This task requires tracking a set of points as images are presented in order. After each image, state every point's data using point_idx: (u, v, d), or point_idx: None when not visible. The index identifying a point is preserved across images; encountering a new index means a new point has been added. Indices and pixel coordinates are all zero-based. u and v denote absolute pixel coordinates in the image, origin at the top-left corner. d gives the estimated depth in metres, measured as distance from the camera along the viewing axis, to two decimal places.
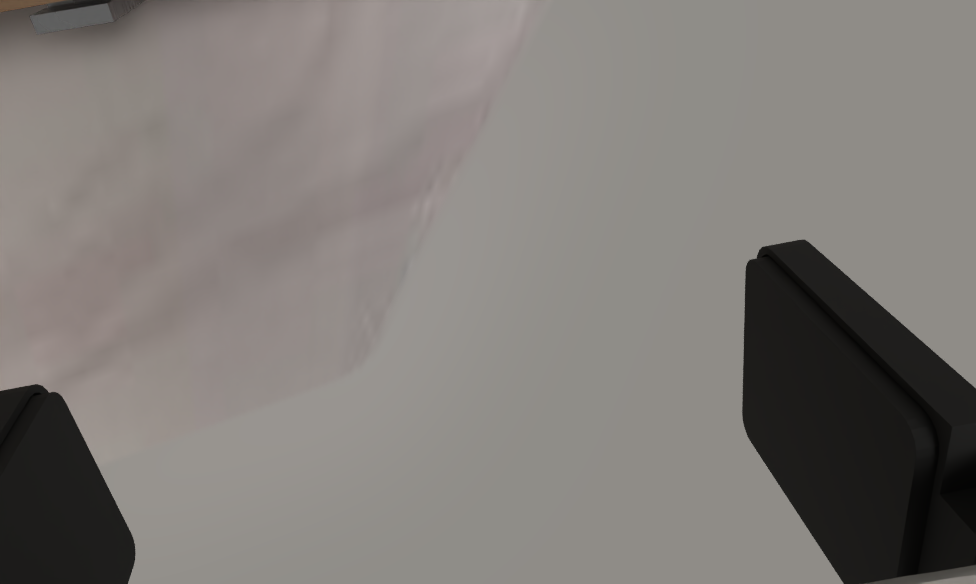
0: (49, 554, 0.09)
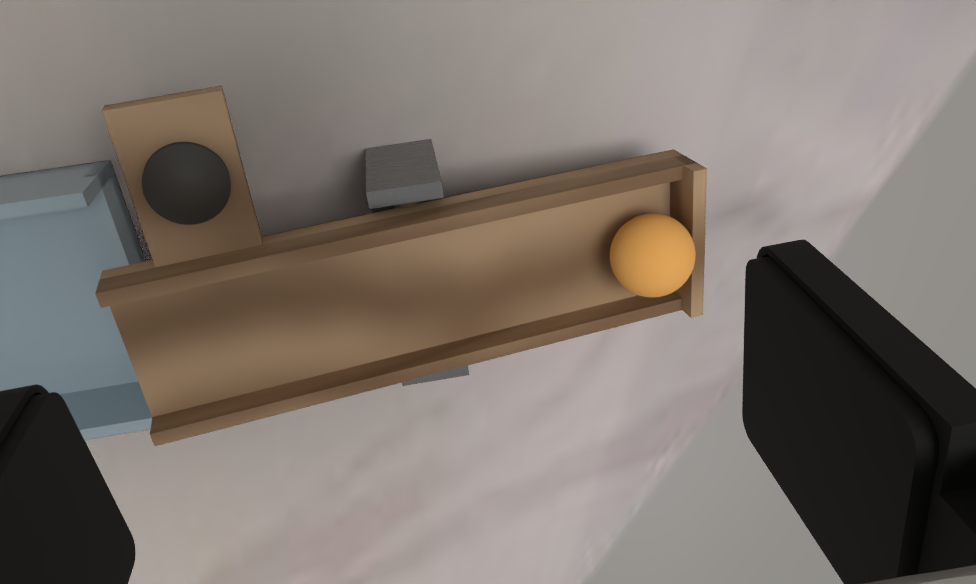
0: (49, 554, 0.09)
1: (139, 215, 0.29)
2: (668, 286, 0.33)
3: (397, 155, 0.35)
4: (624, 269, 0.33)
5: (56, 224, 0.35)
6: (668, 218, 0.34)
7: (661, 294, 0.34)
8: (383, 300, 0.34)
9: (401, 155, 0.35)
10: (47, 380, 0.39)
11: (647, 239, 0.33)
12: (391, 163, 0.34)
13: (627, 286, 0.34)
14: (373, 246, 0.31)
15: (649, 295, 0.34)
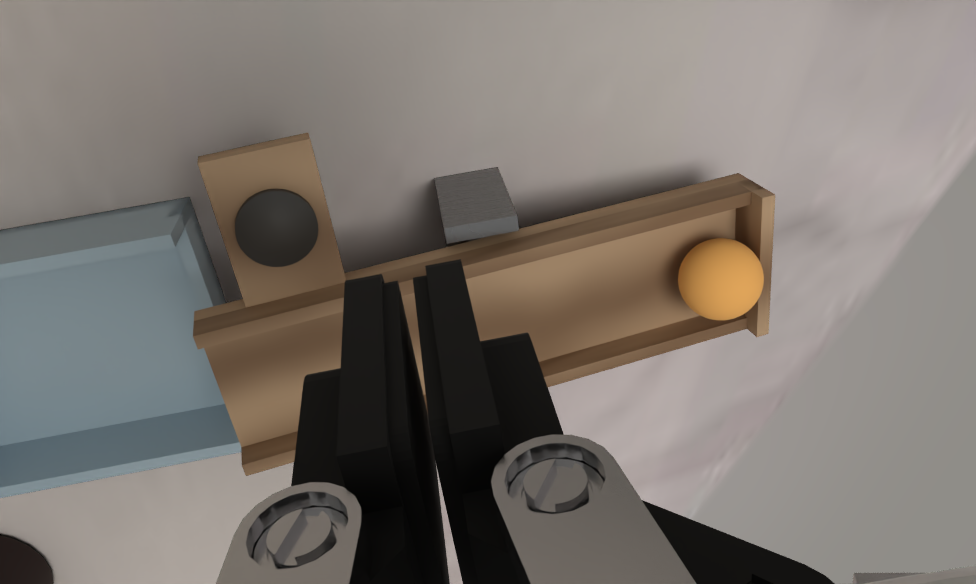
0: (419, 414, 0.10)
1: (231, 259, 0.30)
2: (738, 310, 0.34)
3: (467, 185, 0.36)
4: (695, 295, 0.34)
5: (138, 260, 0.37)
6: (737, 243, 0.34)
7: (730, 318, 0.34)
8: None
9: (471, 185, 0.36)
10: (129, 406, 0.40)
11: (717, 266, 0.33)
12: (463, 195, 0.35)
13: (697, 310, 0.35)
14: None
15: (718, 319, 0.35)
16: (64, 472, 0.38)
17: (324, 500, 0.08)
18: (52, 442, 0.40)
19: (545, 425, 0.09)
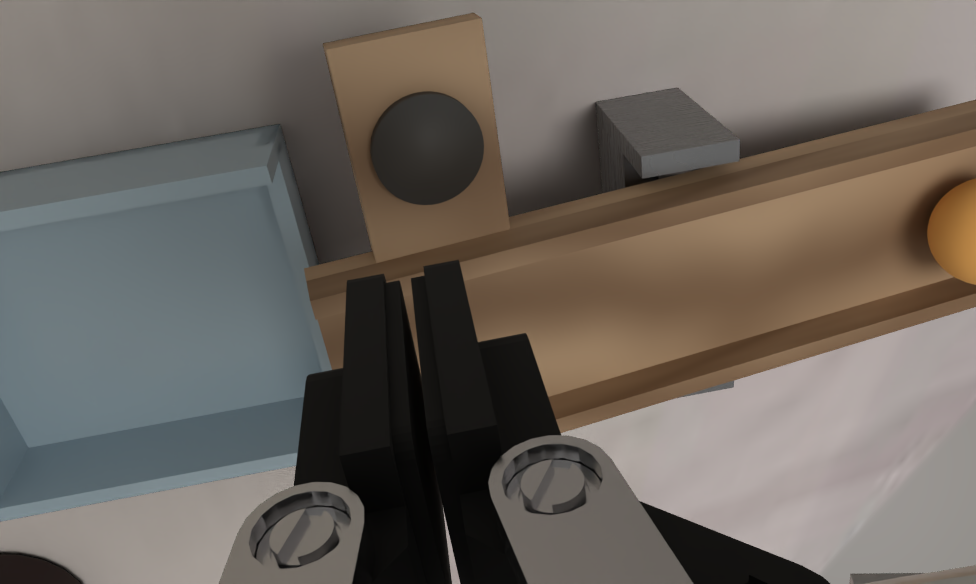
0: (421, 414, 0.10)
1: (362, 194, 0.22)
2: None
3: (647, 108, 0.27)
4: (965, 251, 0.25)
5: (212, 207, 0.28)
6: None
7: None
8: (645, 297, 0.26)
9: (653, 108, 0.27)
10: (193, 398, 0.32)
11: None
12: (647, 118, 0.26)
13: (961, 272, 0.26)
14: (657, 228, 0.23)
15: None
16: (114, 483, 0.29)
17: (326, 500, 0.08)
18: (96, 443, 0.32)
19: (543, 426, 0.09)
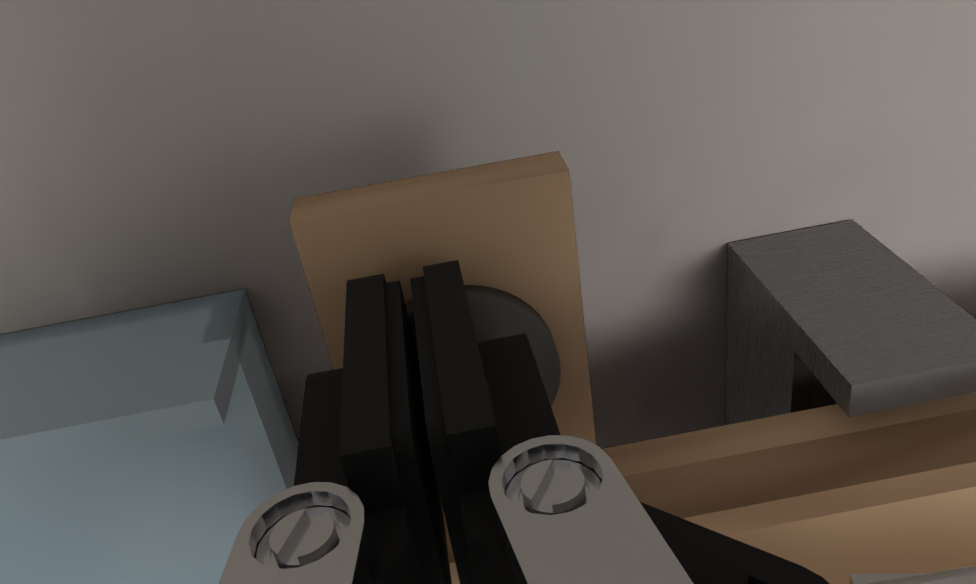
0: (421, 414, 0.10)
1: None
2: None
3: (819, 264, 0.17)
4: None
5: None
6: None
7: None
8: (812, 571, 0.16)
9: (829, 264, 0.17)
10: None
11: None
12: (827, 288, 0.17)
13: None
14: (850, 508, 0.14)
15: None
16: None
17: (327, 500, 0.08)
18: None
19: (543, 426, 0.09)
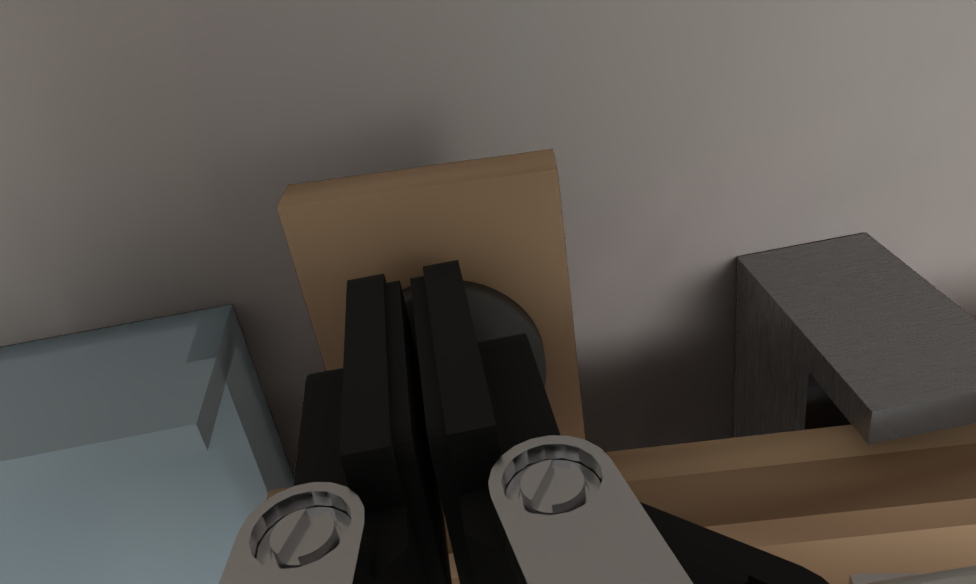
0: (421, 414, 0.10)
1: None
2: None
3: (833, 280, 0.17)
4: None
5: None
6: None
7: None
8: None
9: (843, 280, 0.17)
10: None
11: None
12: (842, 305, 0.16)
13: None
14: (848, 535, 0.13)
15: None
16: None
17: (327, 500, 0.08)
18: None
19: (542, 427, 0.09)
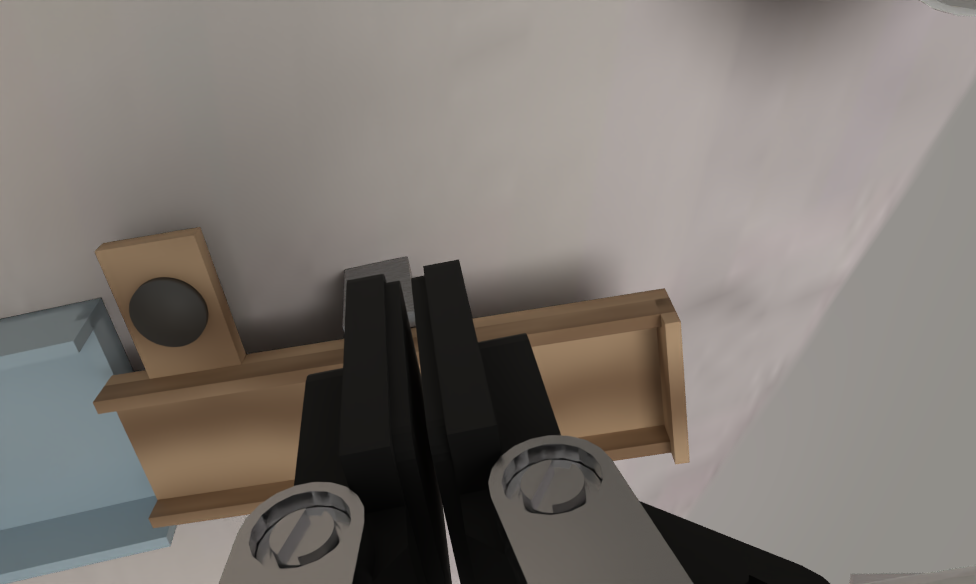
0: (421, 414, 0.10)
1: (132, 336, 0.33)
2: None
3: None
4: None
5: (53, 361, 0.37)
6: None
7: None
8: None
9: None
10: (53, 503, 0.40)
11: None
12: None
13: None
14: None
15: None
16: None
17: (327, 500, 0.08)
18: None
19: (543, 426, 0.09)
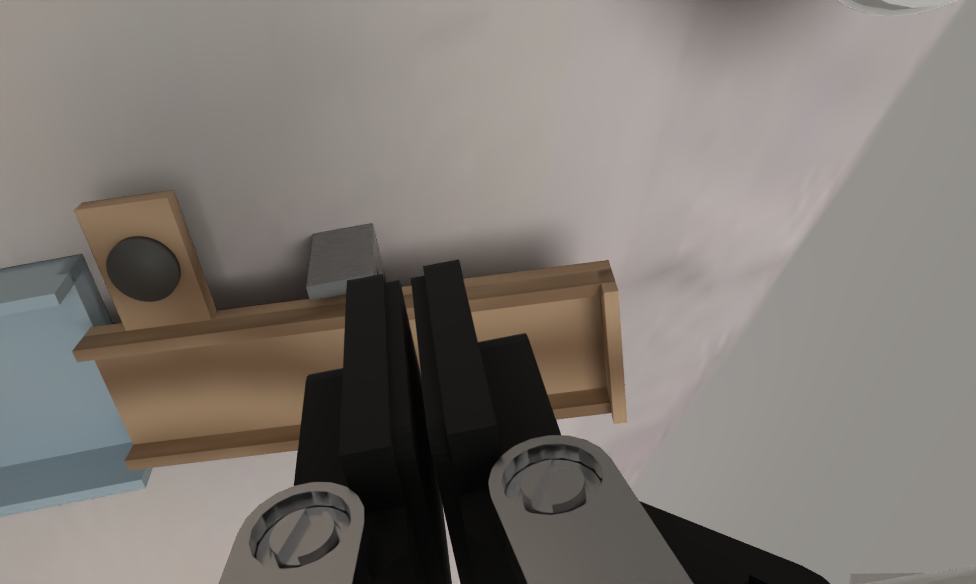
0: (421, 414, 0.10)
1: (109, 290, 0.35)
2: None
3: (340, 242, 0.39)
4: None
5: (36, 312, 0.39)
6: None
7: None
8: None
9: (343, 242, 0.39)
10: (36, 446, 0.43)
11: None
12: (333, 252, 0.38)
13: None
14: (297, 333, 0.35)
15: None
16: None
17: (327, 500, 0.08)
18: None
19: (543, 426, 0.09)
